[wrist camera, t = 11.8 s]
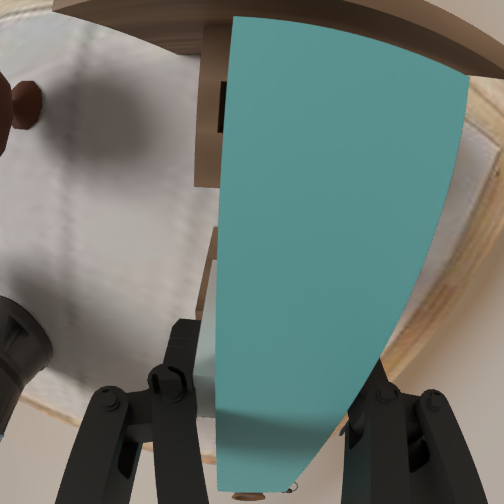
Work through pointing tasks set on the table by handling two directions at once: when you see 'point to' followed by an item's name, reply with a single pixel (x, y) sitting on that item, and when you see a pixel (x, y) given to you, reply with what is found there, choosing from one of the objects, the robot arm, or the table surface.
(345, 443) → the robot arm
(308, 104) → the teal rail
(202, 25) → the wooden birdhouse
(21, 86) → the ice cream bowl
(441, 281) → the table surface
